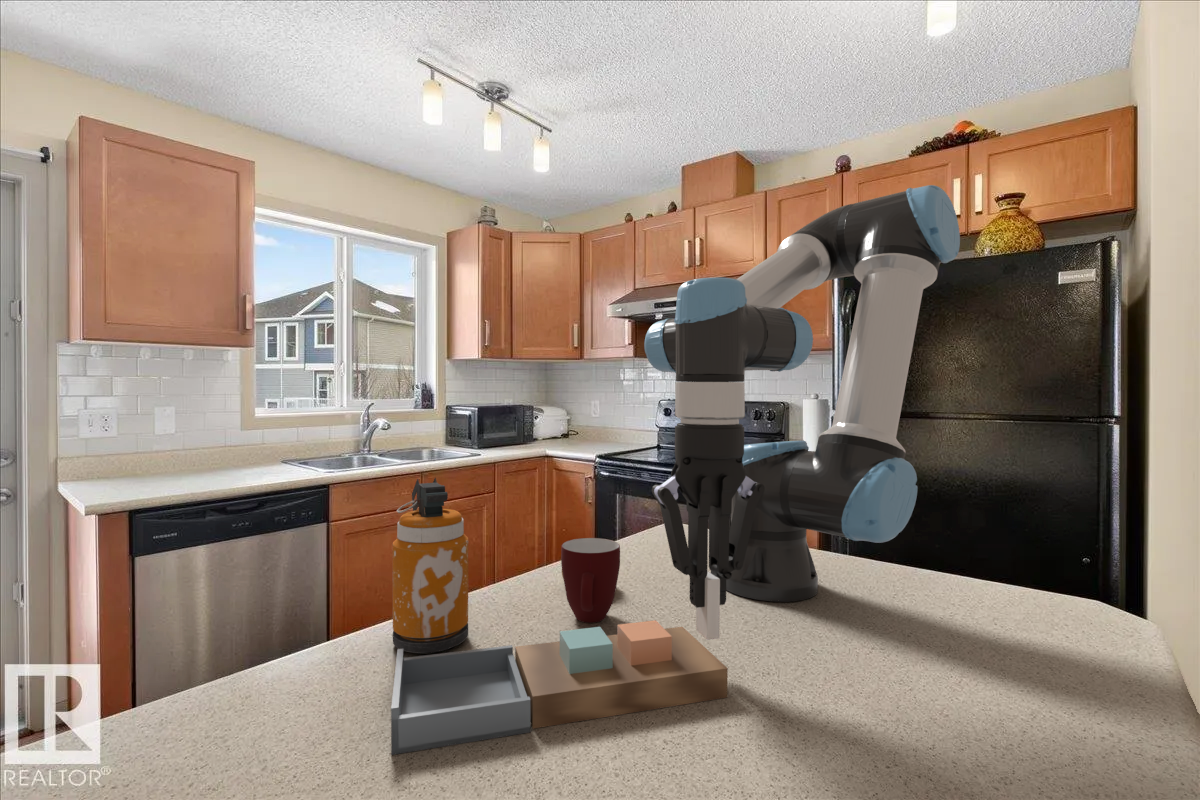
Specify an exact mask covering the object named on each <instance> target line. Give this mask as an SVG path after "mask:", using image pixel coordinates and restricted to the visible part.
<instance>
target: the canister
mask: <svg viewBox="0 0 1200 800" xmlns="http://www.w3.org/2000/svg"><path fill="white" fill-rule="evenodd" d="M448 494H449V493H448V491H446V486H445V485H444V484H443V485H442V484H440V483H438V481H437V478H436V477H434V478H433V482H426V483H425V482H424V483H420V480H419V478H417V479H416V482H415V484H414V487H413V490H412V492H411V499H412V500H411V501H409V502H406V503H405V504H403V505H401V506H400V507H398V509H397V510H396V512H397V514H401V513H403V514H402V515H401V516H400V517H399V520H398V522H397V524H396V525H397V527H396V528H397V531H396V532H397V534H396V535H397V536H396V539H395V540H393V542H392V644H393V645H394V647H395V648H397V649H403V652H406V653H407V652H408V653H413V654H418V655H420V654H421V655H422V654H423V655H431V654H438V653H441V652H444V651H446V650H449V649H452V648H454V647H456V646H458V645H460V644H461V643H463V642H464V641H465V640H467V638H468V637H469V537H468V536H467V535H466V534H465V531H464V530H465V529H464V527H465V526H464V523H465V521H464V518H463V515H462V513H461V512H459V511H458V510H455V509H450V508H443V507H444V506H445V502H447V501H448V496H449V495H448ZM410 504H412V505H411V506H409V505H410ZM406 506H409V507H408V508H405V507H406ZM403 508H405V509H403ZM411 509H412V510H411ZM410 510H411V511H410ZM407 511H408V512H407Z"/></svg>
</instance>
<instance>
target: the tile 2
mask: <svg viewBox="0 0 1200 800" xmlns="http://www.w3.org/2000/svg"><path fill="white" fill-rule="evenodd" d="M665 629H666V628H664V627H663V625H661V624H660V623H659V622H658V621H657V620H646V621H638V622H629V623H621V624H617V629H616V630H617V634H616V635H617V647H618V649H619V650H620V651H621V653H622V654H623V655H624V657H625V658H626V659H627V661H628V662H629V664H630V665H631V666H632V665H639V664H647V663H654V662H661V661H669V660H672V636H671V635H670V634H669V633H668V632H667V631H666V630H665Z"/></svg>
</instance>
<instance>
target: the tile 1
mask: <svg viewBox="0 0 1200 800" xmlns="http://www.w3.org/2000/svg"><path fill="white" fill-rule="evenodd" d="M607 636H608V635H607V634H606V633H605V631H604V630H603V629H602V627H601V626H595V627H585V628H578V629H577V628H575V629H569V630H560V631H559V641H560V656H561V658H562V660H563V662H564V664H565V666H566V668H567V670H568V672H569V674H574V673H581V672H588V671H596V670H603V669H610V668H613V644H612V642H611V641H610V640H609V638H608V637H607Z"/></svg>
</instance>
